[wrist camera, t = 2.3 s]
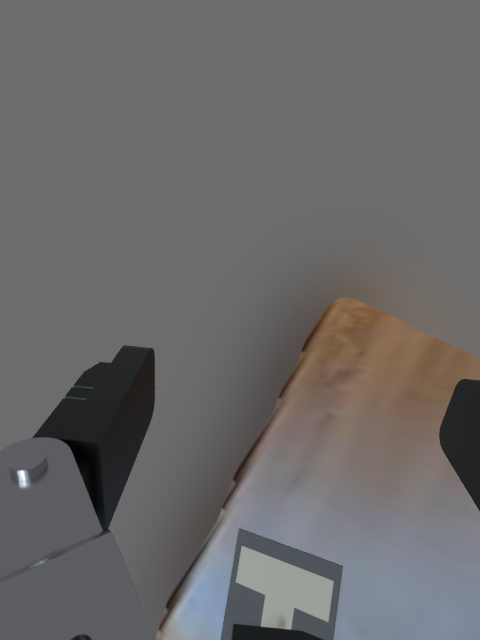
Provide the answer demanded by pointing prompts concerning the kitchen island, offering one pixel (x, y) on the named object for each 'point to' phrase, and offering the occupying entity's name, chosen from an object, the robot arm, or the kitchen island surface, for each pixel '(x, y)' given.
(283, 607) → the t mat
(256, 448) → the kitchen island surface
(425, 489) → the kitchen island surface
